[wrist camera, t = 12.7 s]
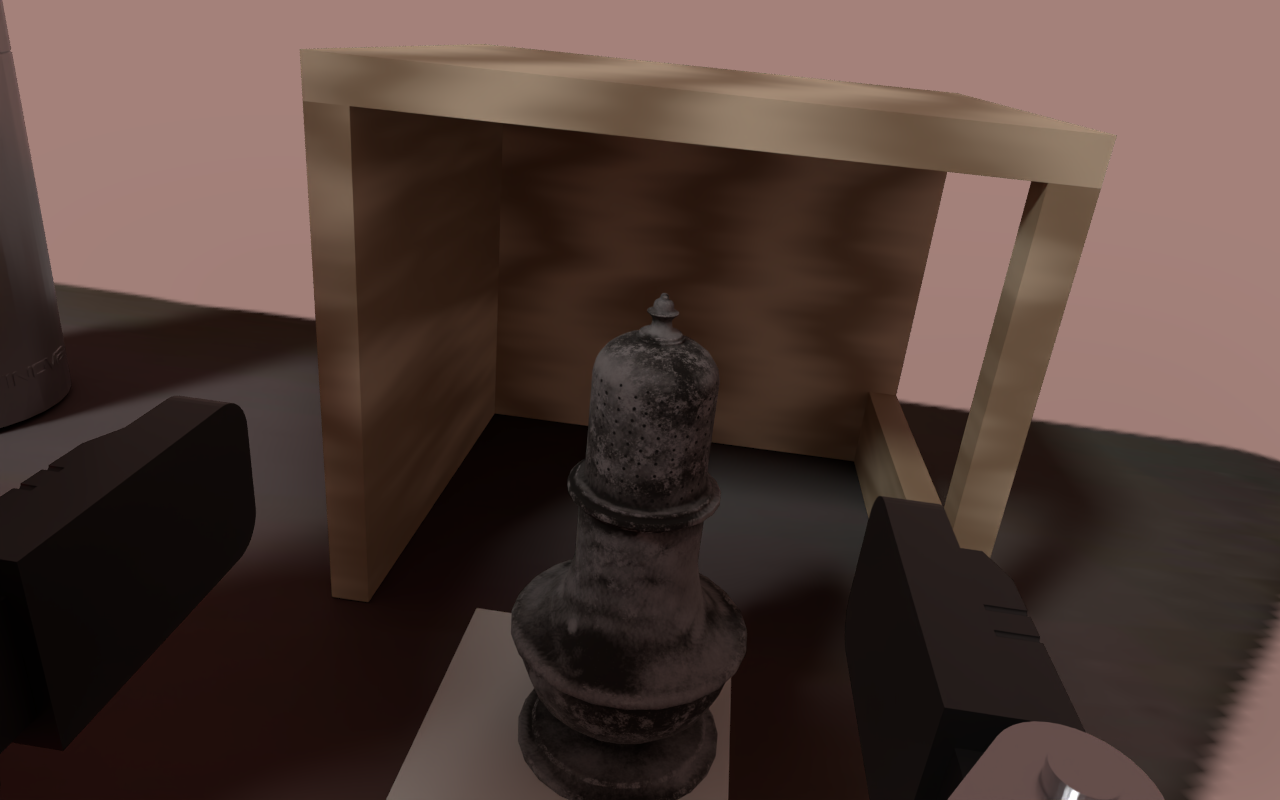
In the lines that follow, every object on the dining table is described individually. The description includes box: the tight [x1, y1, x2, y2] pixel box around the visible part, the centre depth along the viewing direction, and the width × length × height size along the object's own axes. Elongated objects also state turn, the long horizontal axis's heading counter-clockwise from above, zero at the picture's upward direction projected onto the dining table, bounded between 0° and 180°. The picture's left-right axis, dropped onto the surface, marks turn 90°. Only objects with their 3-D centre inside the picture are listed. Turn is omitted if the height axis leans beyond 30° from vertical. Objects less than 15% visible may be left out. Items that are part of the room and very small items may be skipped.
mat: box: [386, 608, 731, 800], centre depth 23 cm, size 8×8×1 cm
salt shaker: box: [511, 293, 747, 800], centre depth 21 cm, size 6×6×12 cm
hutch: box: [300, 44, 1116, 602], centre depth 31 cm, size 19×16×16 cm
